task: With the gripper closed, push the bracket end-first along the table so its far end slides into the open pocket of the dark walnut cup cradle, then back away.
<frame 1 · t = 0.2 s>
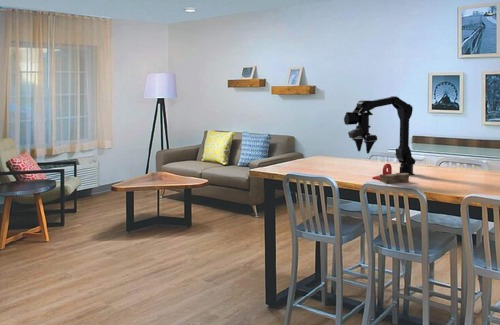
hand: (363, 152, 266), 14 cm above the table, fingers open, 9 cm apart
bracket: (381, 178, 267), on the table
cradle: (392, 181, 256), on the table
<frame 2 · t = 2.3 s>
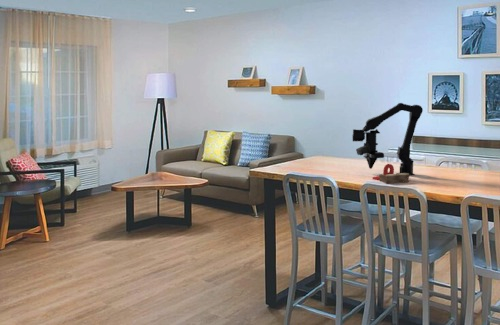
hand: (370, 168, 277), 3 cm above the table, fingers closed
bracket: (382, 178, 266), on the table
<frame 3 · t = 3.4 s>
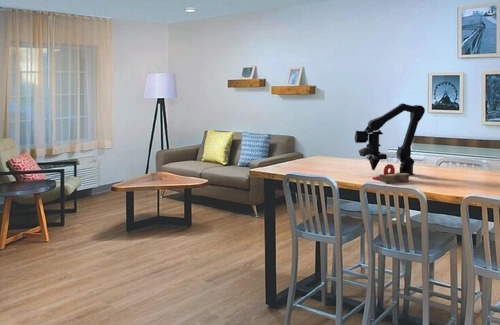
hand: (373, 170, 274), 3 cm above the table, fingers closed
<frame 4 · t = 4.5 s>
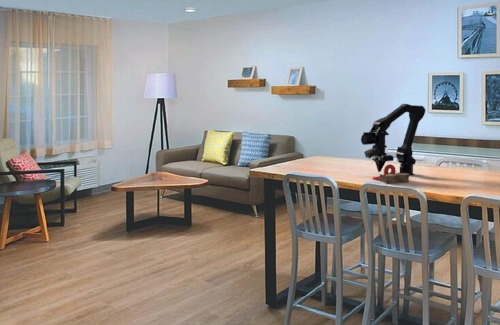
hand: (379, 171, 268), 3 cm above the table, fingers closed
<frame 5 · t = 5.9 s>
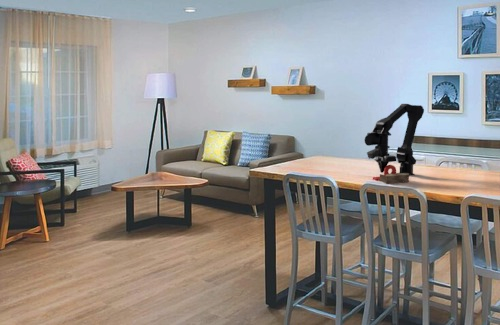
hand: (381, 172, 266), 3 cm above the table, fingers closed
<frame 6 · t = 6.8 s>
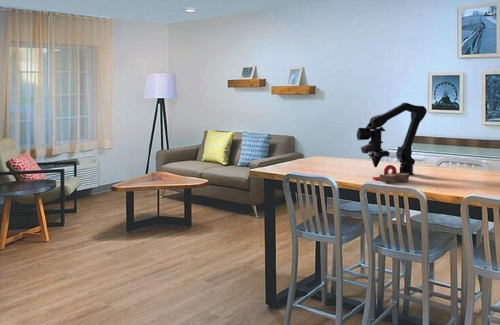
hand: (375, 167, 272), 5 cm above the table, fingers closed
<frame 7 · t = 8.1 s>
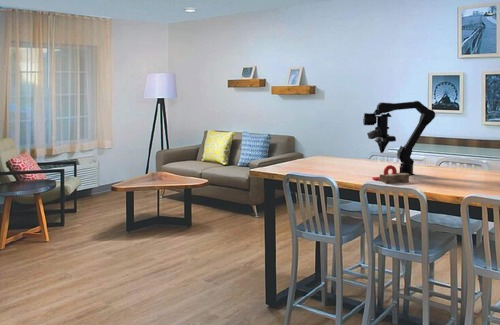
hand: (381, 152, 274), 13 cm above the table, fingers closed
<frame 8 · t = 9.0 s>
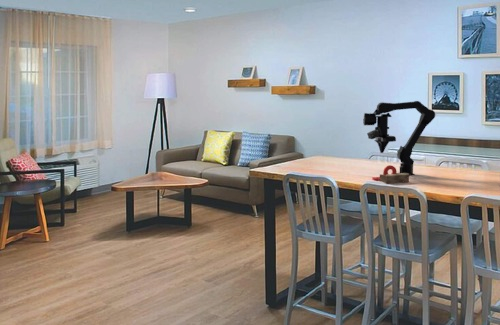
hand: (381, 152, 274), 13 cm above the table, fingers closed
at the end: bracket 2.7 cm from the target spot on the cradle, point 0.0 cm above the cradle's base; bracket tilted 0°; the gripper is holding nothing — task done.
